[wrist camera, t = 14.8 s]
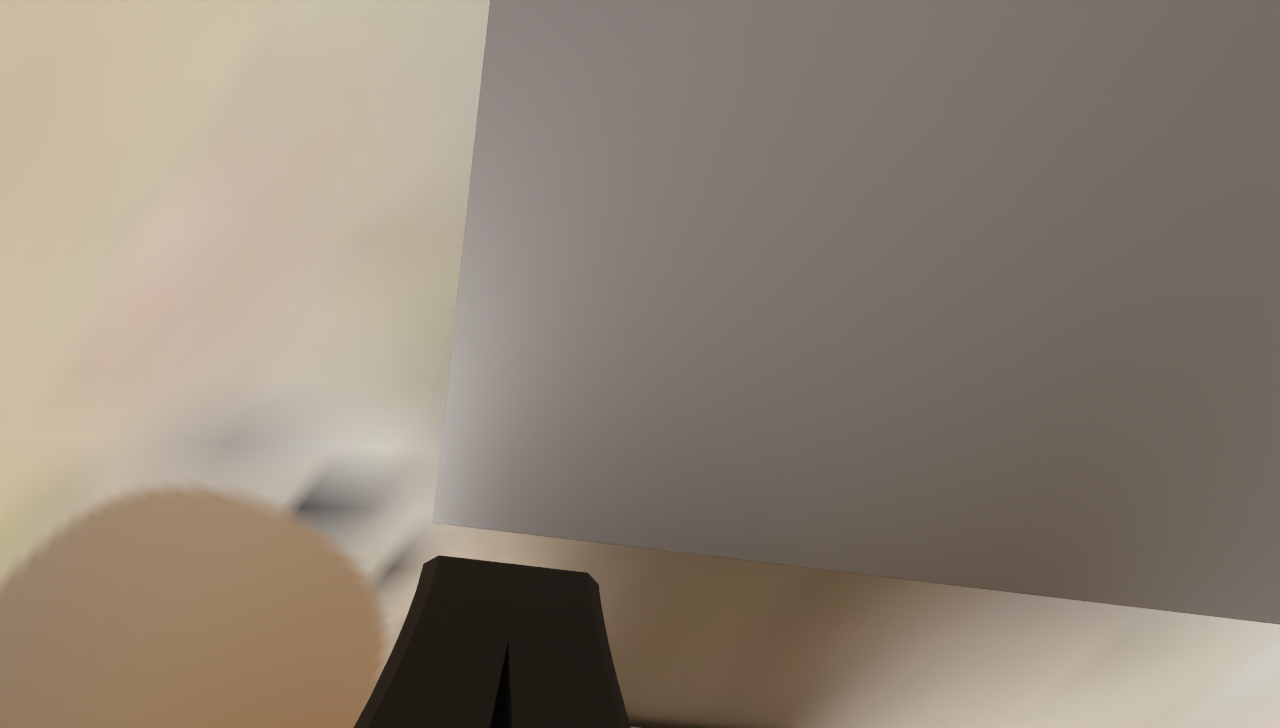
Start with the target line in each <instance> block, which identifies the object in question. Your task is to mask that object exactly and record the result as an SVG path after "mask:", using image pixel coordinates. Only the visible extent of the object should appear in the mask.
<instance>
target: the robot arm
mask: <svg viewBox="0 0 1280 728" xmlns="http://www.w3.org/2000/svg"><path fill="white" fill-rule="evenodd" d="M354 728H639V727H630V723H629V720H628V716H627V713H626V709H625V706H624V702H623V698H622V695H621V691H620V688H619V684H618V680H617V677H616V672H615V668H614V664H613V660H612V656H611V652H610V647H609V643H608V638H607V634H606V629H605V623H604V618H603V613H602V607H601V600H600V593H599V585H598V583H597V582H596V581H595V580H594V579H593V578H592V577H591V576H590V575H589V574H588V573H585V572H576V571H568V570H559V569H550V568H542V567H533V566H525V565H516V564H508V563H499V562H490V561H482V560H473V559H465V558H456V557H447V556H437V557H435V558H433V559H432V560H430V561H428V562H426V563H424V564H423V568H422V572H421V575H420V579H419V583H418V586H417V590H416V593H415V596H414V598H413V601H412V604H411V606H410V609H409V612H408V614H407V617H406V620H405V622H404V625H403V627H402V630H401V632H400V634H399V637H398V639H397V641H396V643H395V646H394V648H393V650H392V653H391V655H390V657H389V659H388V661H387V663H386V665H385V667H384V669H383V671H382V674H381V676H380V678H379V680H378V682H377V684H376V686H375V688H374V690H373V692H372V694H371V696H370V698H369V700H368V702H367V704H366V706H365V708H364V710H363V711H362V713H361V715H360V717H359V719H358V721H357V722H356V724H355V726H354Z"/></svg>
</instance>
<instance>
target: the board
mask: <svg viewBox="0 0 1280 728" xmlns="http://www.w3.org/2000/svg"><path fill="white" fill-rule="evenodd" d="M433 523H438V524H446V525H455V526H463V527H472V528H480V529H488V530H497V531H505V532H513V533H522V534H530V535H538V536H547V537H555V538H563V539H572V540H580V541H588V542H597V543H605V544H613V545H622V546H630V547H638V548H647V549H655V550H663V551H672V552H680V553H689V554H697V555H705V556H714V557H722V558H730V559H739V560H747V561H755V562H764V563H772V564H780V565H789V566H797V567H805V568H814V569H822V570H830V571H839V572H847V573H855V574H864V575H872V576H880V577H889V578H897V579H906V580H914V581H922V582H931V583H939V584H947V585H956V586H964V587H972V588H981V589H989V590H997V591H1006V592H1014V593H1022V594H1031V595H1039V596H1047V597H1056V598H1064V599H1072V600H1081V601H1089V602H1098V603H1106V604H1114V605H1123V606H1131V607H1139V608H1148V609H1156V610H1164V611H1173V612H1181V613H1189V614H1198V615H1206V616H1214V617H1223V618H1231V619H1239V620H1248V621H1256V622H1264V623H1273V624H1280V0H490V7H489V16H488V25H487V34H486V43H485V52H484V61H483V70H482V79H481V88H480V97H479V106H478V115H477V124H476V133H475V143H474V152H473V161H472V170H471V179H470V188H469V197H468V206H467V215H466V224H465V233H464V242H463V251H462V260H461V269H460V278H459V287H458V296H457V305H456V314H455V323H454V333H453V342H452V351H451V360H450V369H449V378H448V387H447V396H446V405H445V414H444V423H443V432H442V441H441V450H440V459H439V468H438V477H437V486H436V495H435V504H434V513H433Z"/></svg>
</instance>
